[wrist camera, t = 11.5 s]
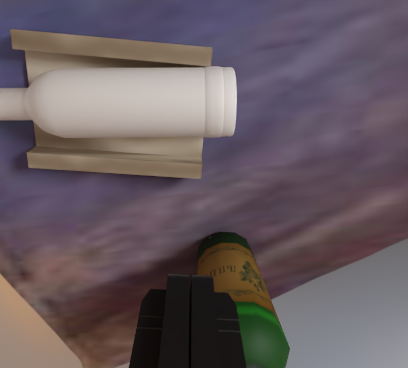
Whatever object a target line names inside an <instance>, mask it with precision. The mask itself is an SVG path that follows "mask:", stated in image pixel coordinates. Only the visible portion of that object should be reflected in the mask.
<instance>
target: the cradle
mask: <svg viewBox="0 0 408 368" xmlns="http://www.w3.org/2000/svg"><path fill="white" fill-rule="evenodd" d="M10 34H11V41H12V48H13V49H18V50H25V57H26V65H27V73H28V82H29V86H30V85H31V83H32V82H33V80H34V79H35V78H36V77H37V76H38V75H40V74H43V73H45V72H47V71H50V70H53V69H56V68H197V67H209V66H211V59H212V48H211V47H201V46H191V45H180V44H169V43H158V42H147V41H137V40H126V39H115V38H104V37H94V36H83V35H72V34H61V33H50V32H40V31H29V30H16V29H10ZM33 123H34V131H35V139H36V147H34V148H33V149H31V150H30V151H28V152H27V159H28V167H29V168H42V169H57V170H72V171H88V172H103V173H118V174H133V175H149V176H164V177H179V178H195V179H201V172H202V146H203V137H116V138H63V137H59V136H56V135H53V134H50V133H47V132H45V131H43V130H42V129H41V128H40V127H39V126H38V125H37V124H36V123H35V122H34V121H33Z"/></svg>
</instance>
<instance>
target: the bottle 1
mask: <svg viewBox="0 0 408 368" xmlns="http://www.w3.org/2000/svg"><path fill="white" fill-rule="evenodd" d="M236 105H237V89H236V76H235V71H234V69H233V68H232V67H218V66H209V67H197V68H56V69H53V70H50V71H47V72H45V73H43V74H40V75H38V76H37V77H36V78H35V79H34V80H33V82H32V83H31V85H30V86H29V87H28V88H0V120H33V121H34V122H35V123H36V124H37V125H38V126H39V127H40V128H41V129H42V130H43V131H45V132H47V133H50V134H53V135H56V136H59V137H63V138H116V137H221V136H232V135H233V133H234V129H235V122H236Z"/></svg>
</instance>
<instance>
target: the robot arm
mask: <svg viewBox="0 0 408 368" xmlns="http://www.w3.org/2000/svg"><path fill="white" fill-rule="evenodd" d="M129 368H246V362H245V356H244V349H243V343H242V337H241V333H240V325H239V321H238V313H237V307H236V304H235V302H234V301H233V299H232V298H231V296H230V295H229V294H228V293H222V292H214V281H213V276H204V275H191V281H190V275H183V274H168V280H167V289H166V290H160V289H150V291H149V292H148V293H147V295H146V296H145V297H144V299H143V300H142V303H141V308H140V313H139V318H138V323H137V329H136V334H135V339H134V344H133V349H132V354H131V359H130V365H129Z"/></svg>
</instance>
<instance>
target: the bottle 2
mask: <svg viewBox="0 0 408 368" xmlns="http://www.w3.org/2000/svg"><path fill="white" fill-rule="evenodd" d="M197 275H204V276H213V281H214V292H222V293H228V294H229V295H230V296H231V298H232V299H233V301H234V302H235V304H236V307H237V313H238V321H239V325H240V333H241V337H242V343H243V349H244V356H245V362H246V368H285V367H286V363H287V359H288V354H289V350H290V348H289V345H288V342H287V340H286V337H285V335H284V332H283V330H282V327H281V324H280V322H279V319H278V317H277V314H276V312H275V309H274V307H273V304H272V301H271V299H270V296H269V294H268V291H267V289H266V286H265V283H264V281H263V278H262V276H261V273H260V271H259V268H258V266H257V263H256V260H255V258H254V255H253V253H252V250H251V248H250V246H249V244H248V242H247V241H246V239H245V238H243V237H241V236H239V235H238V234H236V233H231V232H219V233H217V234H214V235H212V236H210V237H207V238H206V239H205V241H204V242H203V243H202V245H201V246H200V247H199V252H198V267H197Z"/></svg>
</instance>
